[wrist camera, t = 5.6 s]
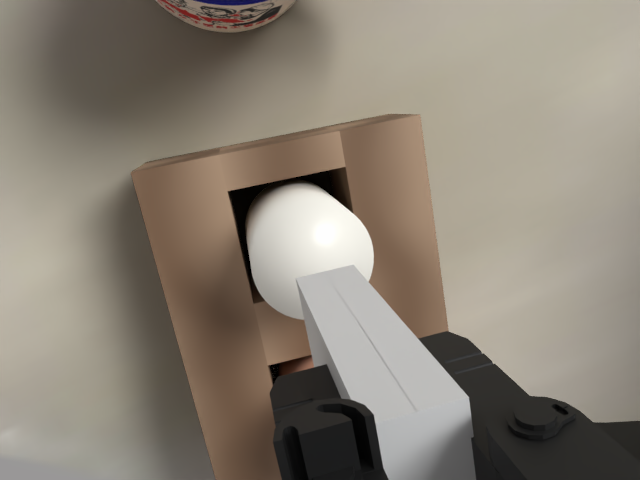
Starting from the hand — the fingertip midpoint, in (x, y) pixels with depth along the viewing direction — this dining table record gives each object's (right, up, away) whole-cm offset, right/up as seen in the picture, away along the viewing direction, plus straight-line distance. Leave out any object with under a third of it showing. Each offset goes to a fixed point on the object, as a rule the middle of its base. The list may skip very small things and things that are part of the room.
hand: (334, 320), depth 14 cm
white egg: (-2, +3, +11) cm, 12 cm away
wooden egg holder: (-1, 0, +15) cm, 15 cm away
